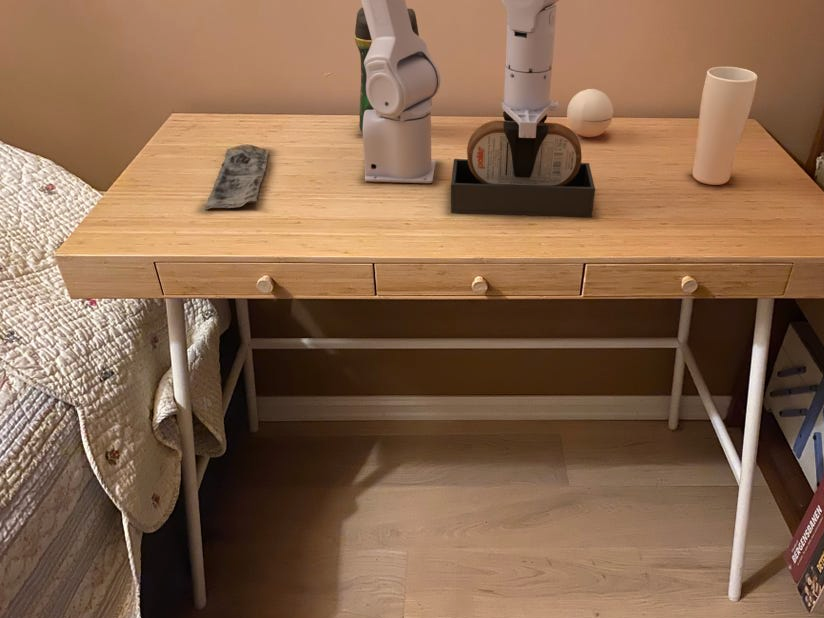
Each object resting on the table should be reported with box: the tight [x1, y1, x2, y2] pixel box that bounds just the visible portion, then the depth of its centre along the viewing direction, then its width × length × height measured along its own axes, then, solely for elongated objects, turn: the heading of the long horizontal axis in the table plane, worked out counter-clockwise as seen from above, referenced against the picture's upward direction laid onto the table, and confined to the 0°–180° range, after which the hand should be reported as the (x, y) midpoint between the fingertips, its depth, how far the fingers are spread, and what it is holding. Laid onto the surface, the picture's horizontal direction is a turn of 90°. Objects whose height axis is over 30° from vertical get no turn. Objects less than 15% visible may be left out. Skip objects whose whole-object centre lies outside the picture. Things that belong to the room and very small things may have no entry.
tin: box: [466, 119, 582, 186], centre depth 103 cm, size 15×3×8 cm, turn 89°
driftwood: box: [204, 144, 270, 211], centre depth 110 cm, size 21×7×2 cm, turn 6°
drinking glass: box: [691, 66, 758, 186], centre depth 110 cm, size 7×7×15 cm
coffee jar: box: [354, 7, 420, 134], centre depth 121 cm, size 10×8×19 cm
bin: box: [450, 158, 596, 218], centre depth 106 cm, size 18×8×4 cm, turn 89°
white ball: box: [566, 88, 626, 138], centre depth 126 cm, size 10×7×7 cm
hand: (522, 171), depth 105 cm, fingers closed on tin, 2 cm apart
